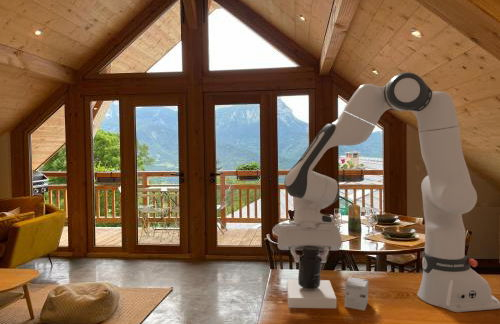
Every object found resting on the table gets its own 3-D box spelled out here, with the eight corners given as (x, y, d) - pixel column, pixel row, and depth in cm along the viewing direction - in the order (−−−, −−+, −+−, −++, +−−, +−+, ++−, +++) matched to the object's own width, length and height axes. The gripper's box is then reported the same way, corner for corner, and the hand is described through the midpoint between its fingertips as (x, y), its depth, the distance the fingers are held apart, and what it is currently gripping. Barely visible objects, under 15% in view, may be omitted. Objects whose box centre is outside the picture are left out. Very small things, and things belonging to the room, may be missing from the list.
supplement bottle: (319, 290, 120) (321, 252, 119) (297, 288, 121) (298, 250, 120) (320, 281, 127) (322, 245, 125) (299, 279, 128) (300, 243, 127)
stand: (329, 289, 131) (329, 280, 131) (336, 308, 117) (336, 298, 117) (286, 288, 132) (286, 279, 131) (288, 307, 118) (288, 297, 117)
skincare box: (344, 307, 118) (344, 283, 117) (348, 299, 123) (348, 276, 123) (365, 311, 115) (365, 286, 115) (368, 302, 121) (368, 279, 120)
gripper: (276, 217, 130) (277, 256, 121) (339, 218, 129) (344, 257, 120) (276, 227, 134) (276, 265, 125) (337, 228, 133) (341, 266, 125)
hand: (310, 261), depth 123 cm, fingers closed on supplement bottle, 7 cm apart
